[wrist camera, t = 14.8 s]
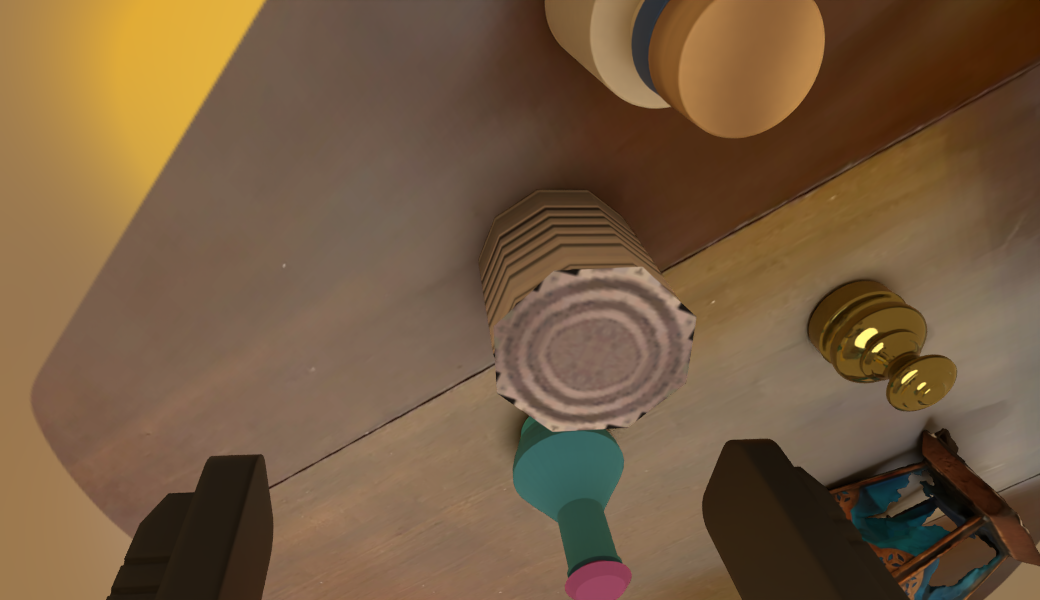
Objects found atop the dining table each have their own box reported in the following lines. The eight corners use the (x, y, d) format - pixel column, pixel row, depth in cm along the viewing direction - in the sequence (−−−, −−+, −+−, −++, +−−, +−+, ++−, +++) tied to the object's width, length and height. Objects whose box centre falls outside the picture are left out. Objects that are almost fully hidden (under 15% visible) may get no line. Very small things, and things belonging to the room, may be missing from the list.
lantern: (903, 401, 66) (722, 526, 72) (965, 431, 51) (728, 587, 56) (1016, 524, 63) (817, 644, 68) (1119, 596, 47) (851, 743, 53)
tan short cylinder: (634, 108, 22) (661, 132, 19) (667, -40, 19) (703, -34, 17) (751, 120, 23) (792, 144, 20) (797, -20, 20) (850, -12, 18)
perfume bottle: (497, 404, 49) (523, 566, 37) (604, 380, 50) (665, 534, 37) (515, 476, 55) (543, 641, 42) (612, 455, 55) (668, 612, 42)
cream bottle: (536, 55, 35) (602, 131, 22) (554, -80, 32) (645, -83, 19) (644, 67, 36) (766, 146, 23) (673, -61, 33) (835, -52, 20)
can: (561, 347, 47) (599, 461, 37) (445, 276, 42) (452, 386, 32) (663, 242, 43) (735, 338, 33) (547, 151, 38) (591, 231, 28)
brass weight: (800, 359, 52) (873, 443, 43) (811, 288, 47) (894, 365, 39) (881, 342, 52) (970, 422, 43) (899, 270, 48) (1000, 343, 39)
